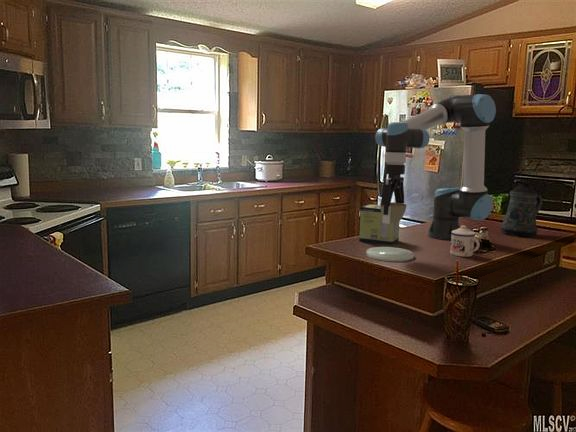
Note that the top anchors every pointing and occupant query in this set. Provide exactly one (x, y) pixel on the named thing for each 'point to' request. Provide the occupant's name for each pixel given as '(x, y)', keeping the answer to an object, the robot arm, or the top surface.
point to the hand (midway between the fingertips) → (391, 221)
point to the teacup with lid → (463, 242)
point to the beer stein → (522, 211)
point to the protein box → (376, 227)
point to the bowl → (396, 211)
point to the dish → (390, 254)
